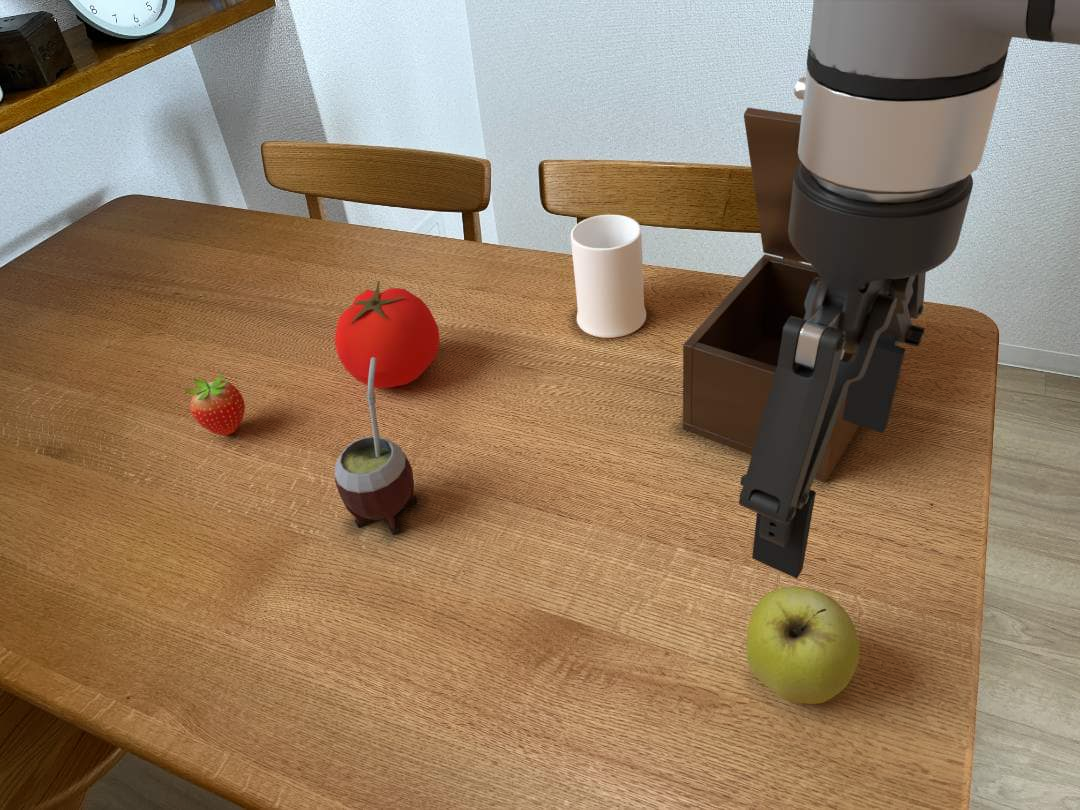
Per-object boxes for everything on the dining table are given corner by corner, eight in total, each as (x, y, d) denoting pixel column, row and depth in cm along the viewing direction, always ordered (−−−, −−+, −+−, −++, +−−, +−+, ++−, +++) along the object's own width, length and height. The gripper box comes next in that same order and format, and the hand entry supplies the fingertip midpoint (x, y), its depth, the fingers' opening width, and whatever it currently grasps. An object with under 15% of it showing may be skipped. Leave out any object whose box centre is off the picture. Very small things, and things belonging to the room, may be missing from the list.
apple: (818, 600, 65) (850, 556, 57) (856, 702, 61) (897, 670, 52) (722, 620, 65) (740, 578, 56) (754, 723, 61) (778, 695, 52)
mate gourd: (362, 551, 76) (315, 436, 66) (341, 498, 81) (295, 384, 72) (436, 520, 78) (401, 403, 68) (410, 469, 83) (375, 355, 73)
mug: (599, 280, 106) (593, 197, 98) (662, 289, 103) (661, 203, 95) (566, 332, 98) (556, 246, 90) (633, 343, 95) (629, 254, 87)
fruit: (240, 411, 94) (214, 357, 89) (263, 429, 91) (238, 374, 86) (199, 437, 91) (169, 382, 86) (222, 456, 88) (193, 401, 83)
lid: (922, 140, 63) (965, 56, 66) (743, 114, 70) (788, 39, 73) (908, 287, 78) (944, 213, 81) (763, 252, 86) (800, 186, 89)
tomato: (421, 333, 102) (401, 256, 94) (464, 378, 94) (446, 298, 86) (333, 372, 97) (305, 295, 90) (370, 422, 90) (343, 342, 82)
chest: (825, 482, 76) (840, 394, 69) (682, 429, 83) (682, 344, 76) (890, 375, 86) (909, 288, 79) (757, 336, 93) (764, 253, 86)
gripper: (893, 60, 45) (841, 359, 59) (668, 281, 31) (669, 605, 45) (1044, 76, 41) (949, 392, 55) (864, 337, 27) (799, 672, 41)
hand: (823, 488), depth 50 cm, fingers open, 13 cm apart
